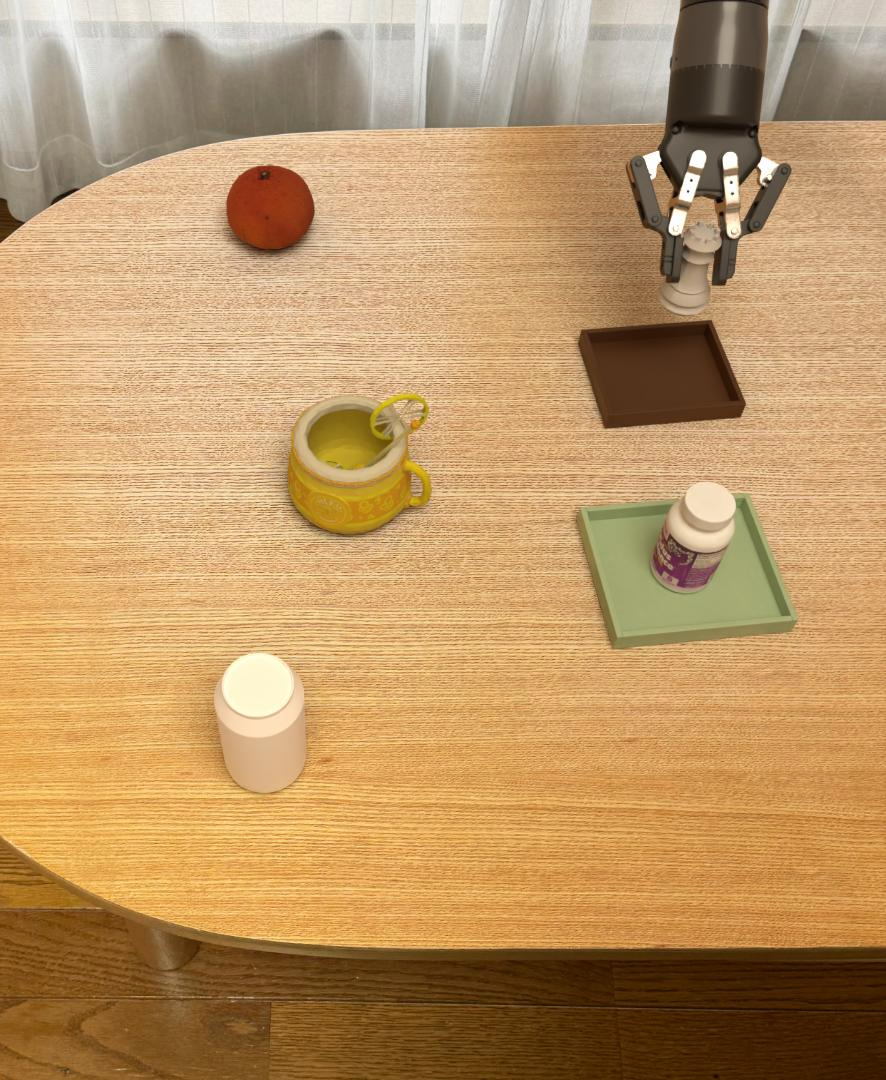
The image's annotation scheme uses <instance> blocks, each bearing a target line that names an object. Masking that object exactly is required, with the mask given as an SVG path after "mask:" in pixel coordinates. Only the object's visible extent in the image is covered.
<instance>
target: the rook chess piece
mask: <svg viewBox="0 0 886 1080" xmlns="http://www.w3.org/2000/svg"><path fill="white" fill-rule="evenodd" d="M715 224H716V223H714V222H713V221H711V220H709V221H708V223H707V224H705V219H700V220H699V219H698V220H697V222H696V223H695V222H692V223H691V225H690V226H689V228H686V230H685V231H684V232H682V233H683V234H682V237H684V243H683V253H682V263H681V274H680V280H679V283H675V284H674V283H666V276H664V279H663V280H662V281H661V285H660V287H659V288H658V292H657V298H658V300H659V302H660V304H661V306H662V307H663V308H664V309H665V310H666V311H667V312H669V313H671V314H673V315H675V316H680V317H692V316H695V315H697V314H700V313H701V312H704V311H705V310H706V308H707V307H708V306H709V299H710V298H711V297H710V296H711V286H710V284H709V283H710V281H709V278H708V272H709V266H710V263H711V262H712V261H714V253H715V251H716V250H718V249H719V247H720V246H721V244H722V239H721V237H720V235H719V234H720V229H719V227H718V226H717V227H715ZM714 227H715V228H714Z"/></svg>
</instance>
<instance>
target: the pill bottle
mask: <svg viewBox="0 0 886 1080" xmlns="http://www.w3.org/2000/svg"><path fill="white" fill-rule="evenodd" d="M730 491H731V490H729V489H727V488H726V487H724V486H723V485H721V484H719V483H718V482H717V483H716V482H712V481H700V482H696V483H693V484H692V485H691V486H690V487H688V489H687V490H686V491H685V494H684V495H683V497H681V498H678V499H679V500H677V501H676V502H675V503H674V504H673V505H672V507H671V508H670V510H669V512H668V514H667V517H666V520H665V522H664V525H663V527H662V530H661V532H660V534H659V537H658V540H657V543H656V545H655V548H654V550H653V553H652V556H651V561H650V564H651V570H652V573H653V575H654V577H655V578H656V580H657V581H658V582H659V583H660V584H661V585H663V586H664V587H666V588H667V589H669V590H671V591H674V592H678V593H695V592H698V591H700V590H702V589H704V588H705V587H706V586H707V585H708V584H709V583H710V581H711V580H712V578H713V576H714V574H715V572H716V570H717V568H718V566H719V564H720V562H721V560H722V558H723V556H724V554H725V552H726V550H727V548H728V546H729V544H730V542H731V540H732V538H733V535H734V531H735V523H734V519H733V515H734V513H735V510H736V502H735V499H734V497H733V495H732V494H733V493H732V492H730Z"/></svg>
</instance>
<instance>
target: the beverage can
mask: <svg viewBox="0 0 886 1080" xmlns="http://www.w3.org/2000/svg"><path fill="white" fill-rule="evenodd" d="M305 697H306V696H305V688H304V683H303V681H302V679H301V677H300V676H299V675H298V673H297V672H296V671H295V669H293V668H292V666H290V665H289V664H287V663H286V662H285V661H284V660H283V659H282V658H280V657H278V656H277V655H275V654H271V653H268V652H251V653H247V654H244V655H242V656H240V657H238V658H236V659H235V660H233V662H232V663H230V665H229V666H228V667H227V668H226V669H225V671H224V672H223V673H222V675H221V676H220V677H219V679H218V680H217V683H216V686H215V688H214V692H213V705H214V712H215V717H216V722H217V727H218V734H219V739H220V744H221V750H222V755H223V760H224V764H225V767H226V770H227V772H228V774H229V776H230V777H231V778H232V780H233V781H234V782H235V783H236V784H237V785H239V786H240V787H242V788H243V789H245V790H247V791H250V792H254V793H260V794H261V793H262V794H268V793H269V794H270V793H274V792H275V793H276V792H278V791H281V790H283V789H285V788H287V787H288V786H290V785H291V784H293V783H294V782H295V781H296V780H297V779H298V778H299V776H300V775H301V773H302V771H303V770H304V767H305V765H306V761H307V751H308V749H307V748H308V747H307V746H308V745H307V722H306V721H307V720H306V698H305Z"/></svg>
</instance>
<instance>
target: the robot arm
mask: <svg viewBox="0 0 886 1080" xmlns="http://www.w3.org/2000/svg"><path fill="white" fill-rule="evenodd" d="M770 1H771V0H679V9H678V10H679V11H678V12H679V13H678V19H677V23H676V28H675V32H674V37H673V43H672V49H671V56H670V59H669V70H670V71H669V72H670V73H669V83H668V84H669V85H668V93H667V102H666V103H667V105H666V114H665V115H666V116H665V124H664V125H665V126H664V133H663V138H662V140H661V142H660V143H659V144H658V145H657V149H656V151H654V152H651V153H648V154H645V155H643V156H642V155H635V156H633V157H632V158H631V159H629V160H628V161H627V162H626V163H625V166H624V167H625V171H626V176H627V179H628V181H629V185H630V188H631V192H632V195H633V198H634V202H635V205H636V210H637V212H638V216H639V218H640V222H641V225H642V227H643V228H644V229H646V230H650V231H653V232H655V233H657V234H659V235H660V237H661V250H660V261H659V272H660V276H662V277H666V283H674V284H675V283H679V280H680V274H681V263H682V253H683V246H684V244H685V243H684V237H683V236H682V233H683V231H684V227H685V224H686V221H687V217H688V214H689V211H690V209H691V207H692V205H693V202H694V199H696V198H699V197H703V198H707V199H709V200H713V204H714V212H715V214H716V218H717V227H719V229H720V234H719V235H720V237H721V239H722V244H721V246H720V247H719V249H718V250H716V251H714V259H713V263H712V271H711V273H712V274H711V286H713V287H723V286H724V287H725V286H726V285H727V281H728V280H730V279H733V277H734V275H735V272H736V266H737V265H736V263H737V254H738V247H739V241H740V240H741V238H743V237H744V236H747V235H751V234H755V233H758V232H761V231H762V230H763V229H764V227H765V224H766V222H767V221H768V219H769V217H770V216H771V213H772V211H773V209H774V207H775V205H776V203H777V201H778V200H779V198H780V196H781V194H782V192H783V190H784V188H785V186H786V184H787V182H788V180H789V178H790V176H791V175H792V172H793V171H792V167H791V165H790V164H789V163H786V162H783V163H778V162H776V161H774V160H772V159H770V158H767V157H766V156H764V155H763V149H762V147H761V145H760V141H759V131H760V123H761V114H762V103H763V96H764V95H763V94H764V84H765V75H766V67H767V59H768V58H767V57H768V49H769V9H770ZM658 165H660V167H661V169H662V170H663V172H664V174H665V175H666V177H667V179H668V180H669V182H670V184H671V185H672V191H671V194H670V198H669V201H668V206H667V212H666V215H664V214H663V215H662V211H661V208H660V204H659V201H658V198H657V195H656V191H655V188H654V185H653V181H652V180H654V179H655V178H656V177H657V174H658V172H657V167H658ZM754 170H756V172H757V176H756V184H757V187H759V189H758V191H757V193H756V195H755V197H754V199H753V201H752V203H751V205H750V207H749V209H748V211H747V213H746V214H745V216H744V219H742V220H741V206H742V202H741V201H742V200H741V190H740V187H741V186H742V185H743V184H744V182H745V181H746V180H747V179H748V177H749V176H750V175H751V174H752V173H753V171H754Z"/></svg>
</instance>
